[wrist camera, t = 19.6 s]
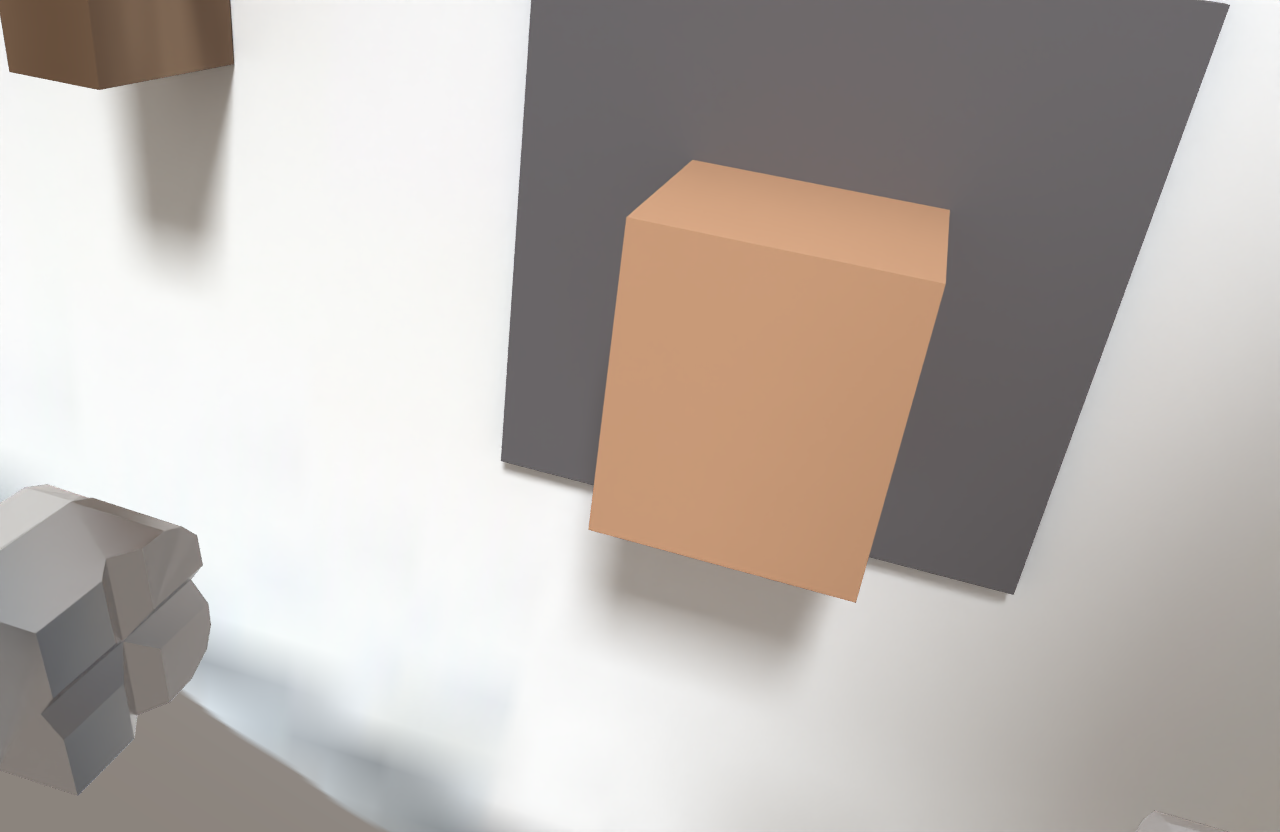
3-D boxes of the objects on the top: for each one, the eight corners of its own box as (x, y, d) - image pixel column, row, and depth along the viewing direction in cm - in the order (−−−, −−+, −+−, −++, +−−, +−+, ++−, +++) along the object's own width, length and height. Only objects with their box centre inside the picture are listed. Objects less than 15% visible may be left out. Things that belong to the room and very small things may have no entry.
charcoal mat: (1223, 3, 17) (1230, 4, 16) (1013, 583, 22) (1013, 594, 22) (545, -96, 19) (537, -96, 19) (507, 453, 25) (500, 461, 24)
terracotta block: (949, 209, 19) (945, 283, 15) (875, 481, 22) (855, 602, 18) (692, 160, 20) (626, 217, 16) (653, 425, 23) (588, 529, 19)
